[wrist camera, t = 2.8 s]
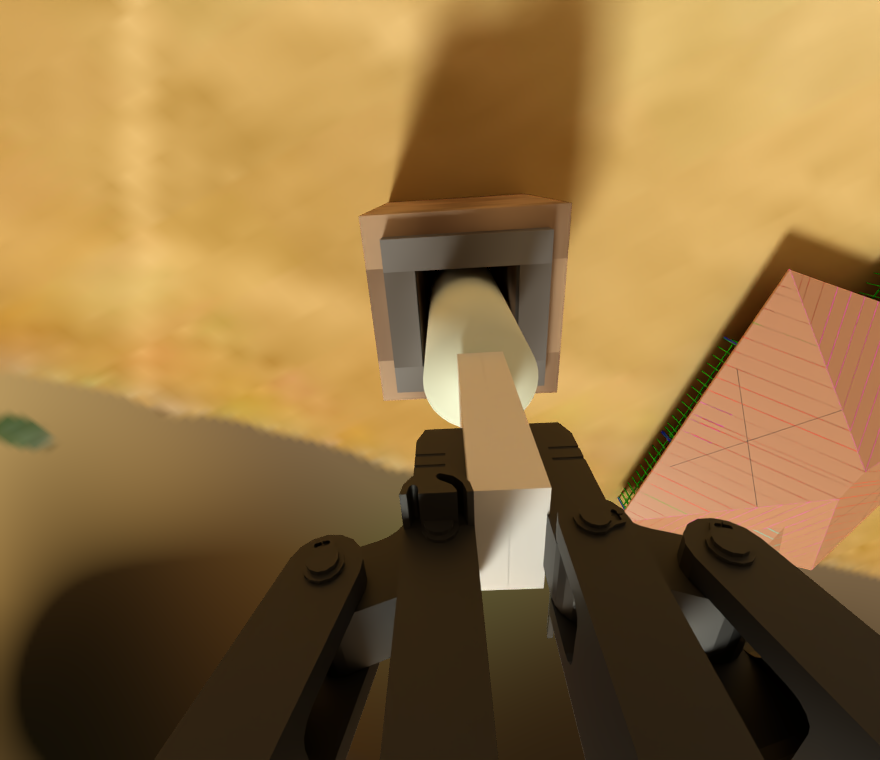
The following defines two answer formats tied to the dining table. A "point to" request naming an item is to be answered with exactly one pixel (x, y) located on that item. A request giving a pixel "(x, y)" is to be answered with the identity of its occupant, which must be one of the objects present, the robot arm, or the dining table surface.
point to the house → (781, 428)
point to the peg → (471, 337)
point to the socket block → (464, 246)
